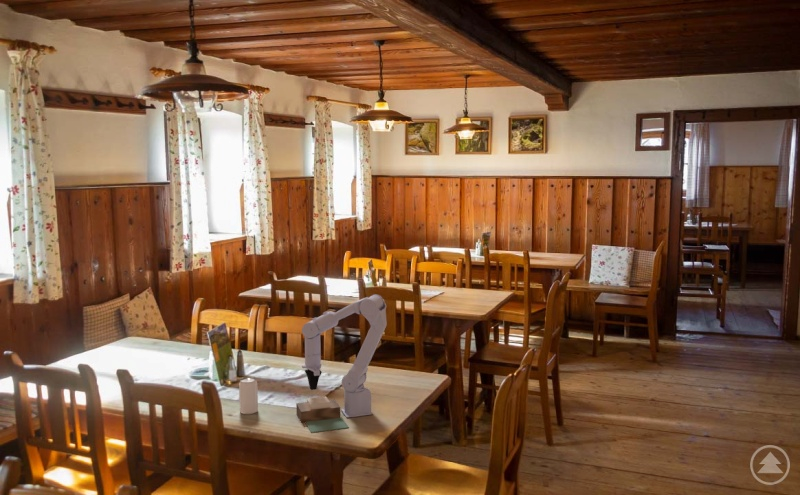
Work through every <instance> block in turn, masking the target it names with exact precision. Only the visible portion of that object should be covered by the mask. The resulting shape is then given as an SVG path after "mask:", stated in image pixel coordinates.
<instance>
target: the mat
mask: <svg viewBox="0 0 800 495" xmlns="http://www.w3.org/2000/svg"><path fill="white" fill-rule="evenodd" d="M305 424H306V426H307V428H308V430H309V432H310V433H311V434H313V433H319V432H327V431H328V432H329V431H335V430H337V431H338V430H343V429H345V430H346V429H349V428H350V427H349V425H348V424H347V422H346V421H345V420H344V418H343V417H341V416H340V418H332V419H324V420H316V421H308V422H305Z"/></svg>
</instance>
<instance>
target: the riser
mask: <svg viewBox="0 0 800 495" xmlns="http://www.w3.org/2000/svg"><path fill="white" fill-rule="evenodd" d="M328 400H329V401H330V407H329V408H320V409H312V410H310V408H309V406H308V405H307V401H306V402H304V401H303V402H296V404H295V405H296V415H297V417H298V420H299V421H300V423H302V424H304V423H306V422H308V421H316V420H324V419H332V418H340V417H341V405H339V403H338V402H337V401H336V400H335V398H331V399H329V398H328Z"/></svg>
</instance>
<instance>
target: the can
mask: <svg viewBox="0 0 800 495" xmlns="http://www.w3.org/2000/svg"><path fill="white" fill-rule="evenodd" d="M238 389H239V390H238V394H239V395H238V398H239V412H240V414H242V415H246V416H247V415H253V414H256V413H257V412H258V411H259V401H258V400H259V399H258V398H259V396H258V395H259V394H258V391H259V390H258V382H257V379H256V378H255V377H253V376H252V377H243V378H241V379H240V380H239V383H238Z"/></svg>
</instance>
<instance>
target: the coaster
mask: <svg viewBox="0 0 800 495" xmlns="http://www.w3.org/2000/svg"><path fill="white" fill-rule="evenodd" d="M306 402H307V405H308V406H309V408H310V410H312V409H320V408H329V407H330V401H329V398H328V397H327V396H319V397H310V398H306Z"/></svg>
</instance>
